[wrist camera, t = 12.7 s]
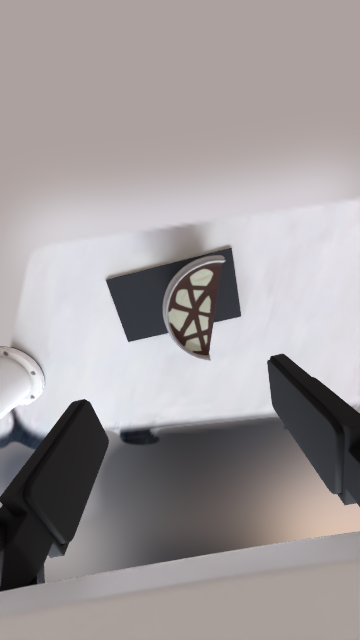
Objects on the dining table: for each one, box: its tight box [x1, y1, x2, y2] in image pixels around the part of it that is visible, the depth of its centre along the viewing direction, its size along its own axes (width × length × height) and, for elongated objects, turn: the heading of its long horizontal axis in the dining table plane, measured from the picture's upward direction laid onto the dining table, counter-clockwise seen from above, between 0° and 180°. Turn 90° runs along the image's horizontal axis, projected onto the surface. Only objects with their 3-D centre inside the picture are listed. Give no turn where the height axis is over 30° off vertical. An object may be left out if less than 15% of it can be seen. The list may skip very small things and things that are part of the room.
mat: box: [106, 248, 241, 342], centre depth 29 cm, size 20×11×1 cm, turn 104°
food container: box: [163, 255, 226, 361], centre depth 24 cm, size 12×6×10 cm, turn 175°
